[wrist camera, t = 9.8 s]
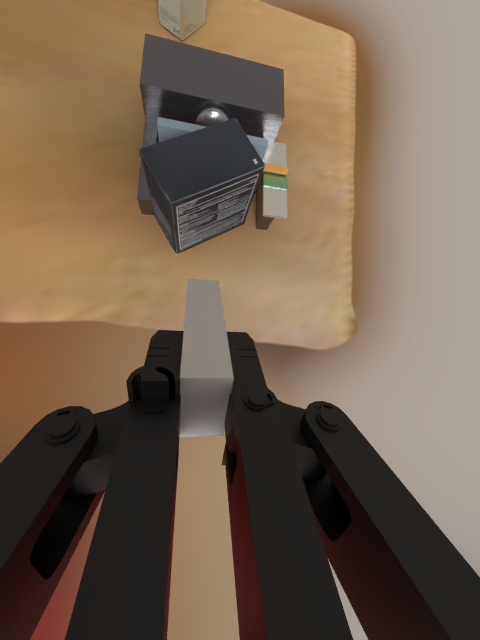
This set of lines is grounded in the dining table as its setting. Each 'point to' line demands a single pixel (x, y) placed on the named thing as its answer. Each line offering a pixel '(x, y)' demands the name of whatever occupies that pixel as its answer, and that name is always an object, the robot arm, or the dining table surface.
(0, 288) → the dining table surface
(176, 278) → the dining table surface
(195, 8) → the skincare box
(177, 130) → the blue-grey flat panel
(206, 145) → the small box
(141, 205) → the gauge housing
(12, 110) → the dining table surface
